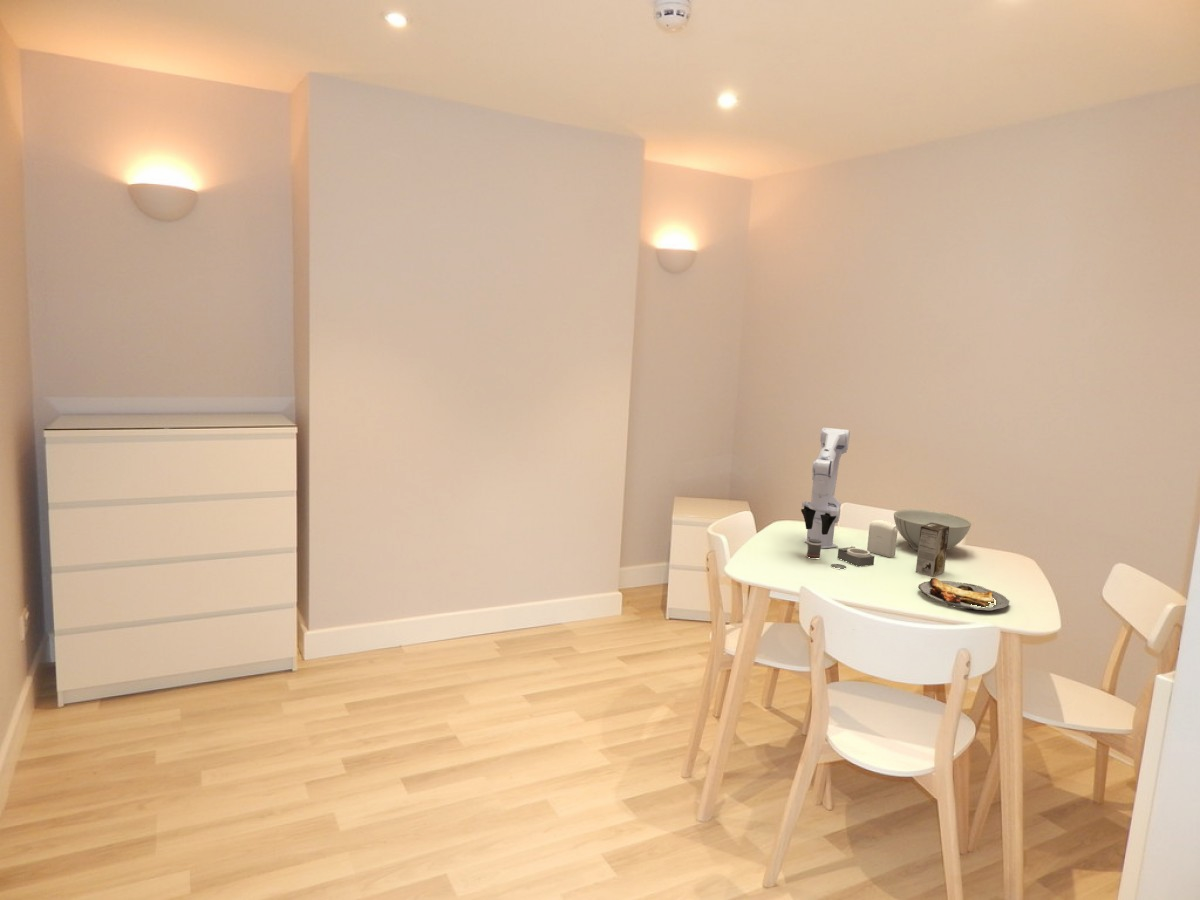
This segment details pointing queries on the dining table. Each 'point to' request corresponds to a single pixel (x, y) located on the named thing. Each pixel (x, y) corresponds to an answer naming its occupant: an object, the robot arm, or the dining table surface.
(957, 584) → the food plate
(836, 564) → the lens cap
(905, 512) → the decorative bowl
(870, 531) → the photo printer
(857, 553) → the camera body
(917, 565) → the coffee box
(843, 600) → the dining table surface
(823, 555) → the dining table surface
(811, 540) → the lens
